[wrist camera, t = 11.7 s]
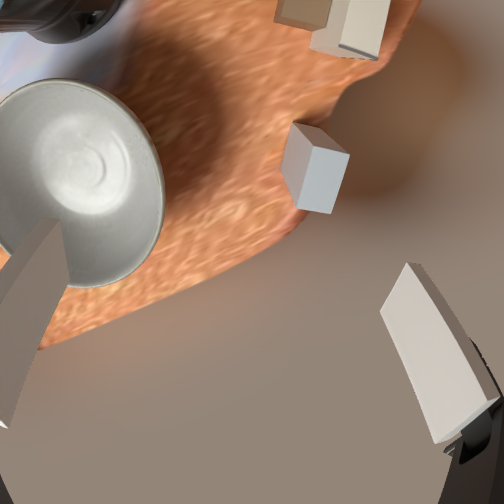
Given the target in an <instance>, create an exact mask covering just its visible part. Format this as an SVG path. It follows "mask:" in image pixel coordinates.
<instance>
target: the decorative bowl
mask: <svg viewBox="0 0 504 504" xmlns="http://www.w3.org/2000/svg"><path fill="white" fill-rule="evenodd" d="M165 204H166V192H165V181H164V175H163V170H162V166H161V162H160V159H159V156H158V153H157V150H156V148H155V145H154V143H153V141H152V139H151V137H150V135H149V133H148V132H147V130H146V128H145V127H144V125H143V124H142V122H141V121H140V120H139V118H138V117H137V116H136V115H135V114H134V112H133V111H132V110H131V109H130V108H129V107H128V106H127V105H125V104H124V103H123V102H122V101H121V100H119V99H118V98H117V97H115V96H114V95H112V94H111V93H109V92H107V91H106V90H104V89H102V88H100V87H98V86H95V85H93V84H90V83H87V82H84V81H80V80H75V79H68V78H50V79H44V80H39V81H35V82H32V83H30V84H27V85H25V86H23V87H21V88H19V89H17V90H16V91H14V92H13V93H11V94H10V95H9V96H7V97H6V98H5V99H4V100H3V101H2V102H1V103H0V246H1V247H2V248H3V250H4V251H5V252H6V253H7V254H8V255H9V256H10V257H11V256H12V254H13V253H14V252H15V251H16V249H17V248H18V247H19V245H20V244H21V243H22V242H23V240H24V239H25V238H26V237H27V236H28V234H29V233H30V232H31V231H32V230H33V228H34V227H35V226H36V225H37V224H38V222H39V221H40V220H41V219H42V218H43V217H44V218H53V219H60V221H61V229H62V236H63V242H64V249H65V254H66V260H67V265H68V271H69V276H70V281H69V283H68V285H67V287H71V288H97V287H102V286H106V285H110V284H112V283H115V282H117V281H119V280H122V279H123V278H125V277H127V276H128V275H130V274H131V273H133V272H134V271H135V270H136V269H137V268H139V267H140V265H141V264H142V263H143V262H144V261H145V260H146V259H147V257H148V256H149V255H150V253H151V252H152V250H153V248H154V246H155V245H156V242H157V240H158V238H159V235H160V232H161V229H162V225H163V221H164V215H165Z"/></svg>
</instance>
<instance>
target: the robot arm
mask: <svg viewBox="0 0 504 504" xmlns="http://www.w3.org/2000/svg"><path fill="white" fill-rule="evenodd" d="M120 3H121V0H0V33H5V32H25V31H26V32H27V33H29V34H30V35H32V36H33V37H34V38H36V39H37V40H39V41H42V42H45V43H49V44H66V43H72V42H76V41H79V40H81V39H84V38H86V37H88V36H89V35H91V34H93V33H94V32H96V31H97V30H98V29H99V28H101V27H102V26H103V25H104V24H105V23H106V22H107V21H108V20H109V19H110V18H111V16H112V15H113V14H114V12H115V11H116V10H117V8H118V6H119V4H120ZM69 281H70V276H69V271H68V265H67V260H66V254H65V249H64V242H63V236H62V229H61V221H60V219H53V218H44V217H43V218H42V219H41V220H40V221H39V222H38V224H37V225H36V226H35V227H34V228H33V230H32V231H31V232H30V233H29V234H28V236H27V237H26V238H25V239H24V240H23V242H22V243H21V244H20V245H19V247H18V248H17V249H16V251H15V252H14V253H13V254H12V256H11V257H10V258H9V260H8V261H7V262H6V264H5V265H4V266H3V268H2V269H1V271H0V425H1V426H3V427H6V428H8V429H9V426H10V423H11V420H12V417H13V414H14V411H15V407H16V404H17V401H18V398H19V396H20V392H21V390H22V387H23V384H24V382H25V379H26V376H27V374H28V371H29V369H30V366H31V364H32V361H33V359H34V356H35V354H36V351H37V349H38V347H39V344H40V342H41V340H42V337H43V335H44V333H45V331H46V328H47V326H48V324H49V322H50V320H51V318H52V315H53V313H54V311H55V309H56V307H57V305H58V303H59V301H60V299H61V297H62V295H63V293H64V291H65V289H66V287H67V285H68V283H69ZM380 313H381V315H382V317H383V320H384V322H385V324H386V326H387V328H388V330H389V333H390V335H391V337H392V339H393V341H394V344H395V346H396V348H397V350H398V353H399V355H400V357H401V359H402V362H403V364H404V366H405V369H406V371H407V374H408V376H409V378H410V381H411V383H412V386H413V388H414V391H415V393H416V395H417V398H418V401H419V403H420V406H421V408H422V411H423V413H424V416H425V419H426V421H427V424H428V427H429V430H430V433H431V435H432V438H433V441H434V444H436V443H440V442H443V441H446V440H449V439H450V438H451V437H453V436H454V435H456V434H457V433H458V432H460V431H461V434H462V436H461V437H460V438H458V439H457V440H455V441H454V442H453V443H451V444H450V445H449V446H447V447H446V448H445V450H444V453H447V452H448V451H450V450H451V449H452V448H454V447H455V449H454V450H453V451H451V452H450V453H449V454H448V455H450V456H452V457H453V458H452V461H451V465H450V468H449V472H448V475H447V478H446V482H445V485H444V488H443V491H442V494H441V497H440V499H439V502H438V504H504V396H503V395H502V392H501V390H500V388H499V386H498V384H497V382H496V380H495V378H494V377H493V375H492V373H491V371H490V369H489V367H488V366H486V362H485V360H484V358H482V355H481V353H480V351H479V349H478V348H477V346H476V344H474V342H473V341H472V340H471V339H470V338H469V337H468V335H467V334H466V332H465V330H464V329H463V327H462V325H461V324H460V322H459V321H458V319H457V317H456V316H455V314H454V313H453V311H452V310H451V308H450V307H449V305H448V303H447V302H446V300H445V299H444V297H443V296H442V295H441V293H440V291H439V290H438V289H437V287H436V285H435V284H434V283H433V281H432V280H431V278H430V277H429V275H428V274H427V273H426V271H425V270H424V268H423V267H422V266H421V264H416V263H409V262H407V263H406V265H405V267H404V269H403V271H402V272H401V274H400V276H399V278H398V280H397V282H396V284H395V285H394V287H393V289H392V291H391V293H390V295H389V296H388V298H387V300H386V301H385V303H384V305H383V307H382V309H381V310H380ZM0 504H14V503H13V501H12V499H11V497H10V495H9V493H8V491H7V489H6V487H5V484H4V482H3V480H2V478H1V475H0Z"/></svg>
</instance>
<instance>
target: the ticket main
mask: <svg viewBox="0 0 504 504" xmlns="http://www.w3.org/2000/svg"><path fill="white" fill-rule="evenodd" d="M390 1H391V0H278V4H277V8H276V12H275V17H274V21H273V22H275V23H279V24H284V25H288V26H292V27H297V28H301V29H304V30H308V31H313V32H312V37H311V41H310V45H309V49H312V50H315V51H319V52H323V53H326V54H329V55H333V56H336V57H341V58H351V59H354V58H359V59H370V60H374V61H376V60H377V61H378V58H377V57H378V53H379V49H380V45H381V41H382V37H383V32H384V28H385V24H386V19H387V15H388V10H389V6H390Z"/></svg>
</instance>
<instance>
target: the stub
mask: <svg viewBox="0 0 504 504" xmlns="http://www.w3.org/2000/svg"><path fill="white" fill-rule="evenodd" d="M349 157H350V154H349V153H348V152H347V151H346V150H344V149H343V148H342V147H341V146H340V145H339V144H338V143H337V142H335V141H334V140H333V139H332V138H331V137H330V136H329V135H327V134H326V133H325V132H324V131H323V130H322V129H320V128H317V127H313V126H308V125H304V124H299V123H295V122H292V123H291V127H290V131H289V135H288V139H287V143H286V147H285V152H284V156H283V160H282V164H281V168H280V171H281V173H282V175H283V178H284V180H285V183H286V185H287V187H288V190H289V192H290V194H291V197H292V199H293V202H294V204H295V207H296V208H298V209H304V210H310V211H316V212H322V213H328V214H331V212H332V209H333V206H334V203H335V200H336V197H337V194H338V191H339V188H340V185H341V181H342V179H343V176H344V172H345V169H346V166H347V163H348V160H349Z"/></svg>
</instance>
